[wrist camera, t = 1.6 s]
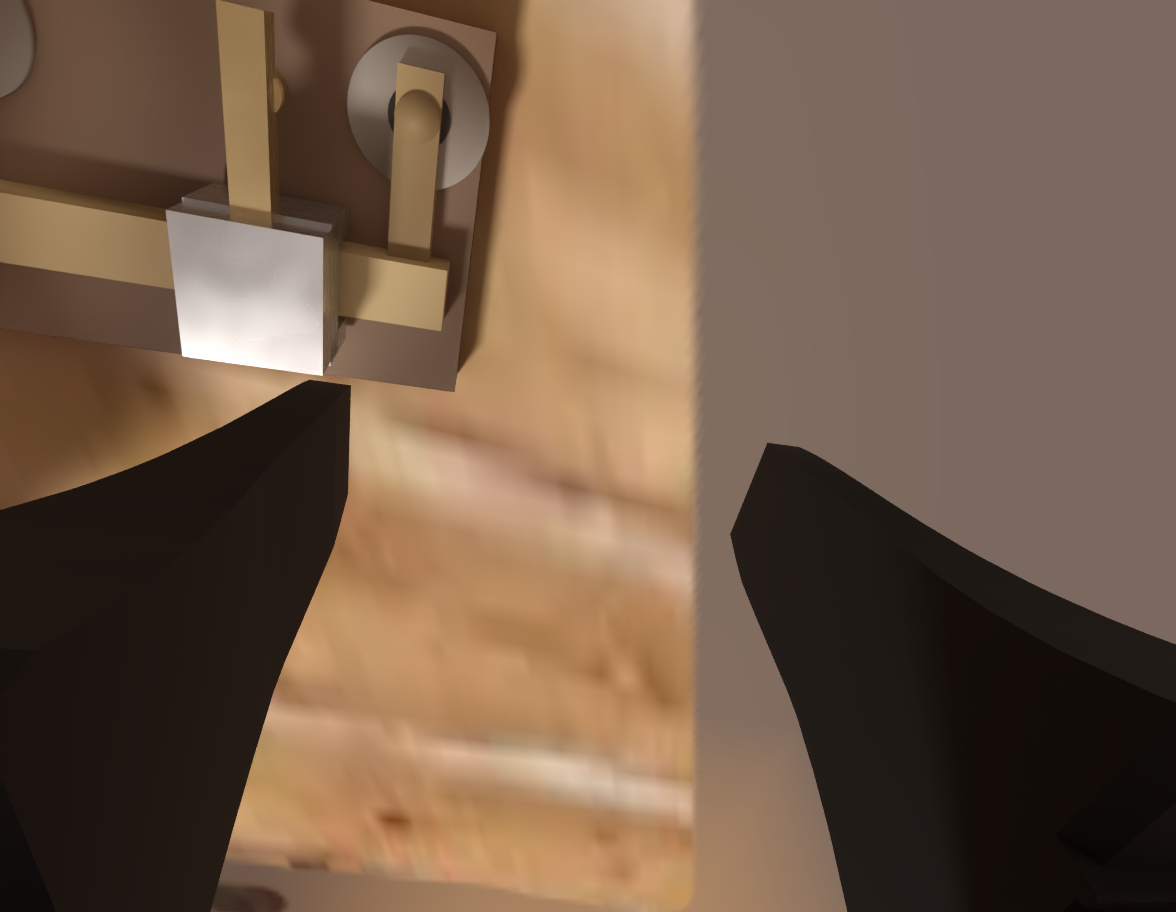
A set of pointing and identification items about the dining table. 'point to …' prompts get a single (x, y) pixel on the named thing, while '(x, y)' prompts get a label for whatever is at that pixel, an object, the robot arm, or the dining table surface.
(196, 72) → the wooden mechanism board
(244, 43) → the sliding leg
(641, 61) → the dining table surface
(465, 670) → the dining table surface
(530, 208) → the dining table surface
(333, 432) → the robot arm
